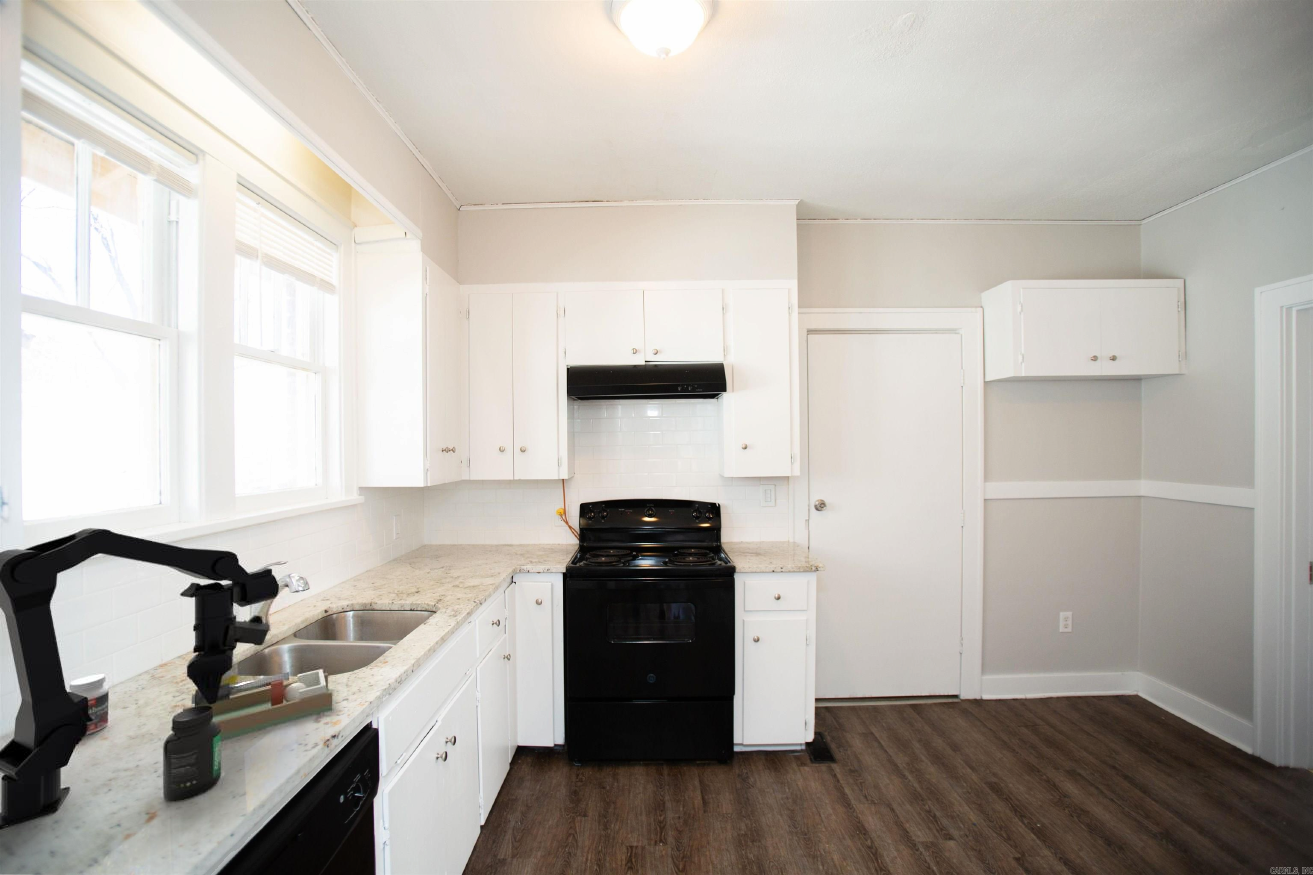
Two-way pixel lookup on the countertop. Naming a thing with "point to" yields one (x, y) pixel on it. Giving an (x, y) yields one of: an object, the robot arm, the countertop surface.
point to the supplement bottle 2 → (231, 674)
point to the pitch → (264, 710)
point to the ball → (293, 692)
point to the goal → (312, 683)
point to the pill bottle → (93, 699)
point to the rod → (248, 689)
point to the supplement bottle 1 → (191, 754)
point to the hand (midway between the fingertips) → (214, 694)
